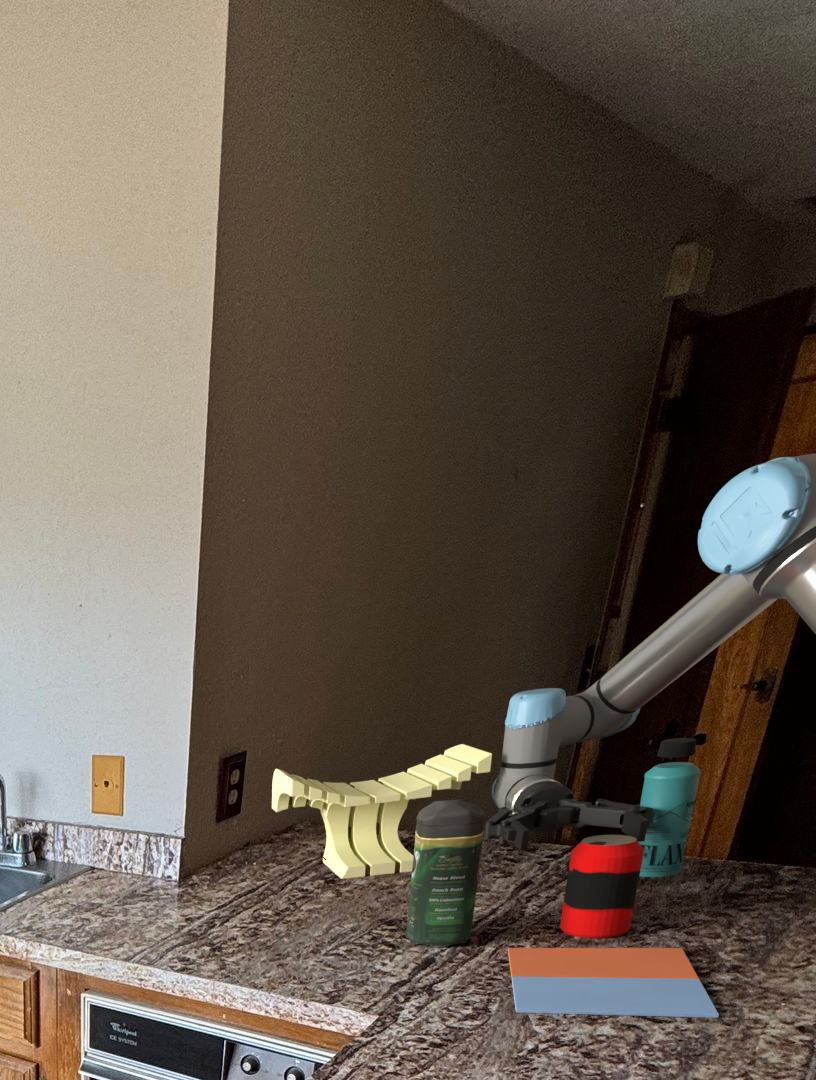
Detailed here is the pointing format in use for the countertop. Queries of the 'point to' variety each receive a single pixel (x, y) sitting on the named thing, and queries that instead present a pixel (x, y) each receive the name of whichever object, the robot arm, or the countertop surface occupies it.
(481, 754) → the slatted curved stool
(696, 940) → the countertop surface
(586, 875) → the soda can
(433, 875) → the coffee jar
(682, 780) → the teal pump bottle
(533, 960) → the sorting mat
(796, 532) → the robot arm
